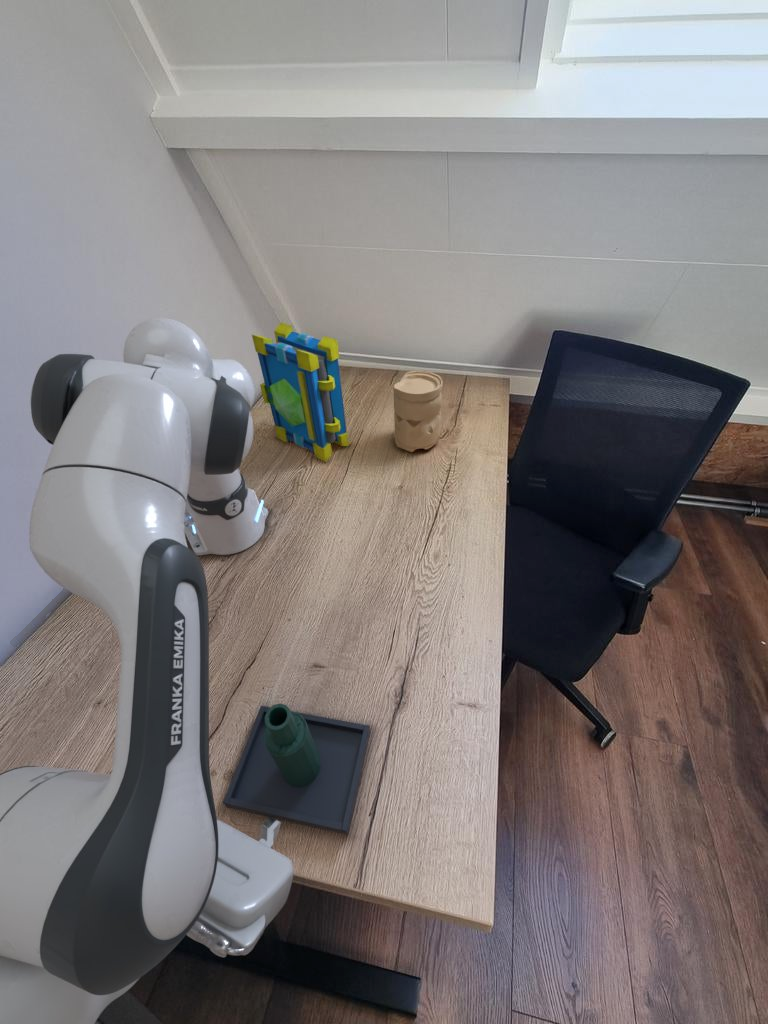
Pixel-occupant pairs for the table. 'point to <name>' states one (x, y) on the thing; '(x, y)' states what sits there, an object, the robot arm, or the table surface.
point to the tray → (316, 802)
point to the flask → (291, 745)
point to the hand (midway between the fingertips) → (238, 806)
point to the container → (417, 410)
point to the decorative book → (303, 389)
